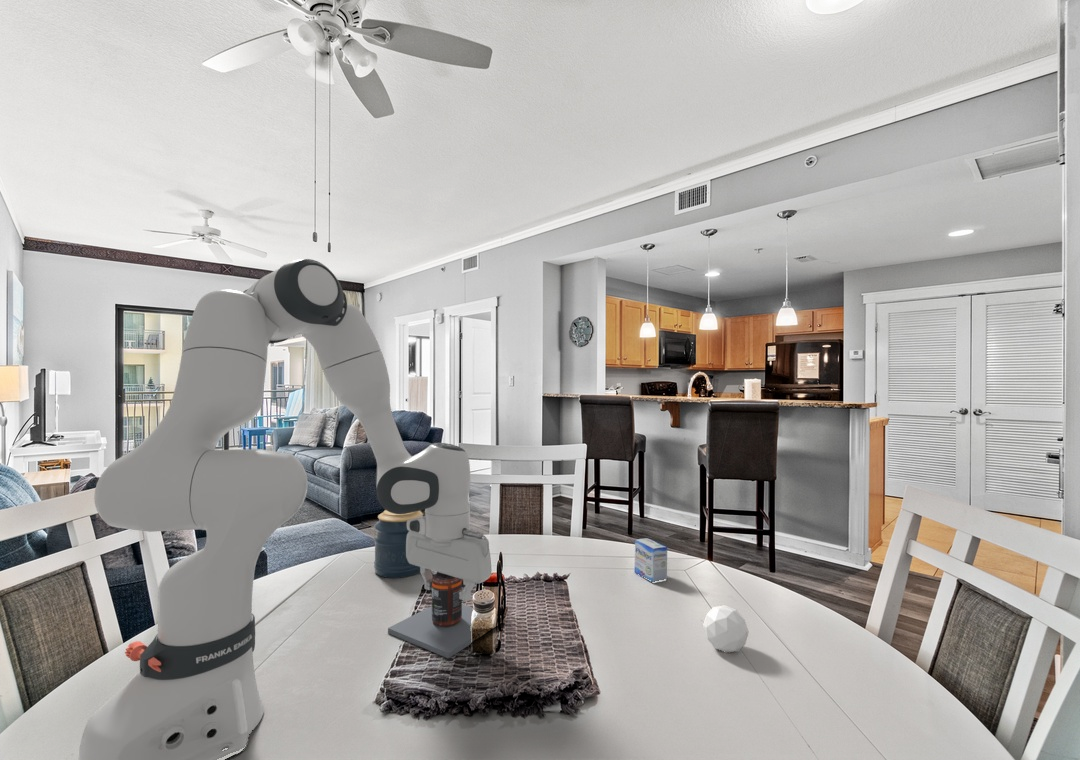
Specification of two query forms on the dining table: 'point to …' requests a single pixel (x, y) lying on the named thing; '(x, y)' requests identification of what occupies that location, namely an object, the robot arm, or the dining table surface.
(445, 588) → the supplement bottle
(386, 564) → the canister
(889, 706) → the dining table surface
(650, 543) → the medicine box
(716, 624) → the geometric ball
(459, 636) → the mat
